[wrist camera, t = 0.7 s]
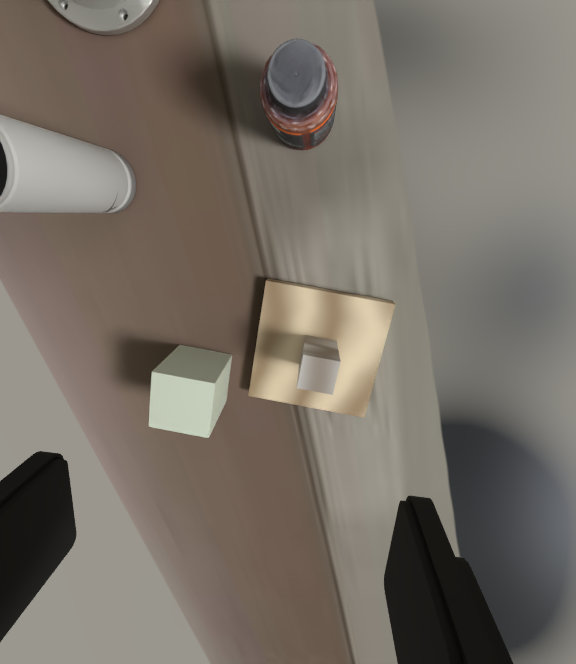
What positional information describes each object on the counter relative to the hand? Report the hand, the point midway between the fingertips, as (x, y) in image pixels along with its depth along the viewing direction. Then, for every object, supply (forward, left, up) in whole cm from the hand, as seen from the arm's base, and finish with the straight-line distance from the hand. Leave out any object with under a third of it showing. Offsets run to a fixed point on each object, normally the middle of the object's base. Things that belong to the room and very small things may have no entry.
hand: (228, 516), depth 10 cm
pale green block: (-9, -12, -32) cm, 35 cm away
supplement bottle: (-2, +17, -32) cm, 36 cm away
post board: (+4, -6, -32) cm, 32 cm away
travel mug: (-21, +8, -32) cm, 39 cm away
